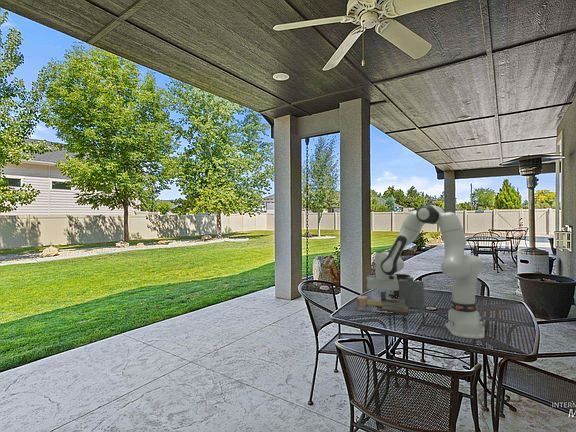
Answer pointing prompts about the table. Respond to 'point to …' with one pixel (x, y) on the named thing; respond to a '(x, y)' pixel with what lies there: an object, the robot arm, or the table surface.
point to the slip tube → (376, 302)
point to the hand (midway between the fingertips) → (383, 296)
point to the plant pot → (399, 277)
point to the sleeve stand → (393, 306)
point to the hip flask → (412, 293)
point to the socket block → (362, 301)
